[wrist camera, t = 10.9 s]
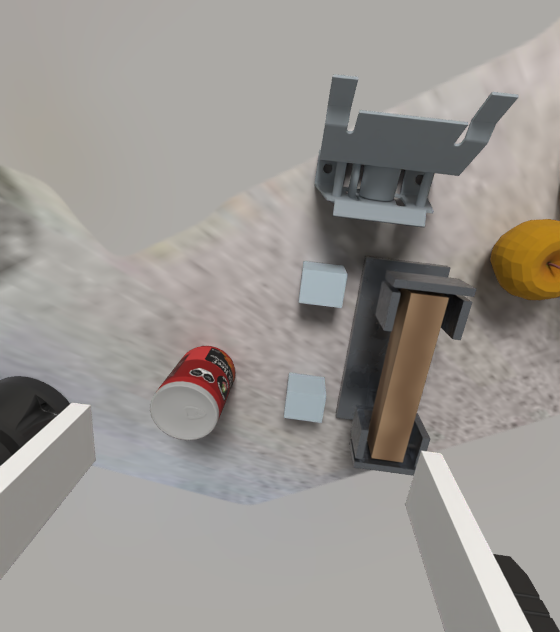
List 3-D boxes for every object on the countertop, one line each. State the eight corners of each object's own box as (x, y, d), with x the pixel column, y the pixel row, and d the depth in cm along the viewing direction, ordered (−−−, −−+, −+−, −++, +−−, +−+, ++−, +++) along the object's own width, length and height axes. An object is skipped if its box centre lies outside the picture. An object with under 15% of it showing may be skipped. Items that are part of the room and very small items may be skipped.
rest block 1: (299, 291, 45) (298, 302, 41) (303, 260, 44) (303, 269, 39) (338, 296, 45) (341, 307, 40) (343, 265, 44) (347, 274, 39)
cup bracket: (335, 412, 51) (342, 467, 41) (365, 256, 43) (382, 275, 33) (404, 421, 51) (428, 479, 40) (446, 265, 43) (489, 288, 33)
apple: (458, 255, 42) (495, 270, 34) (518, 199, 40) (573, 200, 31) (504, 300, 44) (551, 325, 35) (565, 248, 41) (630, 262, 33)
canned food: (243, 386, 51) (226, 435, 40) (192, 395, 52) (163, 446, 42) (227, 338, 48) (205, 378, 38) (174, 350, 50) (139, 391, 39)
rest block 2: (286, 396, 51) (283, 417, 46) (289, 372, 49) (287, 391, 45) (320, 401, 51) (321, 422, 46) (324, 377, 49) (326, 396, 44)
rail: (366, 437, 44) (371, 458, 41) (401, 284, 37) (411, 293, 34) (395, 441, 44) (402, 462, 40) (435, 288, 37) (448, 297, 34)
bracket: (441, 131, 38) (519, 94, 24) (418, 223, 42) (475, 238, 27) (323, 117, 39) (333, 73, 25) (311, 209, 42) (312, 217, 28)
